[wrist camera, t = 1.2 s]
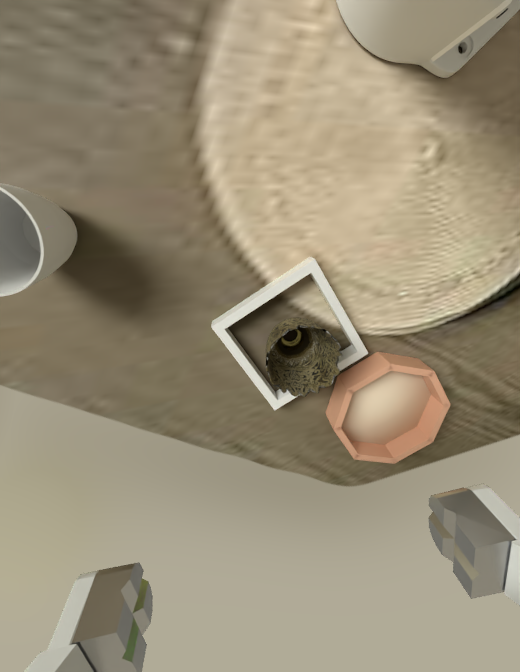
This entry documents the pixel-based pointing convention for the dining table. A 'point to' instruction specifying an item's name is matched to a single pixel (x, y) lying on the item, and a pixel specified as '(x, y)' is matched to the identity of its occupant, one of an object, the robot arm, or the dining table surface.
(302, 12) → the dining table surface
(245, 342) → the dining table surface
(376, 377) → the bowl
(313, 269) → the open white square frame
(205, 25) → the dining table surface
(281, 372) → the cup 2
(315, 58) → the dining table surface
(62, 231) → the cup
